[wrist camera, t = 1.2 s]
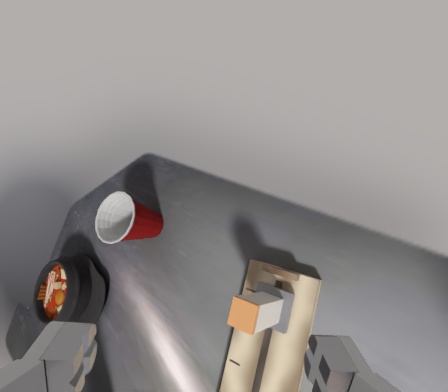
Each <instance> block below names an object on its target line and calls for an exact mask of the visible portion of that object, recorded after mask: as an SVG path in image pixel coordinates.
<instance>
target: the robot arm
mask: <svg viewBox="0 0 448 392" xmlns="http://www.w3.org/2000/svg"><path fill="white" fill-rule="evenodd" d="M95 334H96V325H95V324H90V323H77V322H59V321H52V322H50V323H49V324H48V325H47V326H46V327H45V329H44V330H43V331H42V333H41V334H40V335H39V337H38V338H37V339H36V341H35V342H34V343H33V345H32V346H31V347H30V349H29V350H28V351H27V353H26V354H25V355H24V357H23V358H22V359H21V360H15V361H13V362H12V363H10V364H8V365H7V366H5V367H4V368H2V369H0V392H81V391H82V388H83V386H84V384H85V377H84V376H85V375H86V374H87V373H89V372H90V371H91V368H92V366H93V364H94V360H95V357H96V352H97V342H96V340H95V339H94V336H95ZM308 344H309V347H310V348H309V349H308V350H306V351H305V356H304V368H305V373H306V376H307V379H308V380H309V381H310V382H311V383H312V384H313V389H312V392H401V391H399V390H398V389H397V388H396V387H394V386H393V385H392V384H390V383H389V382H388V381H386V380H385V379H384V378H382V377H381V376H380V375H378V374H377V373H373V372H372V370H371V369H370V367H369V366H368V364H367V362H366V361H365V359H364V358H363V356H362V354H361V353H360V351H359V350H358V348H357V346H356V345H355V343H354V342H353V340H352V338H350V337H349V336H334V335H311V336H310V337H309V340H308Z"/></svg>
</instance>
